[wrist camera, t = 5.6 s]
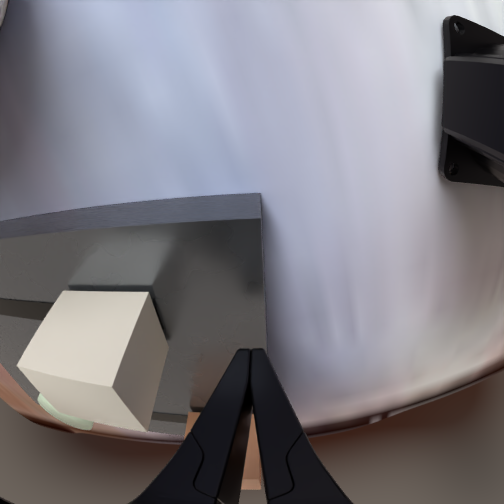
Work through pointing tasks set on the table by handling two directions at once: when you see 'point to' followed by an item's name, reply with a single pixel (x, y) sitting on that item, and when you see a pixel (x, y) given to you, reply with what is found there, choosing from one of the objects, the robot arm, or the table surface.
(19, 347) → the panel
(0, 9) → the lidded jar
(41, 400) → the button
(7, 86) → the table surface
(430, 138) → the table surface
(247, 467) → the slider
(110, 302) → the slider
